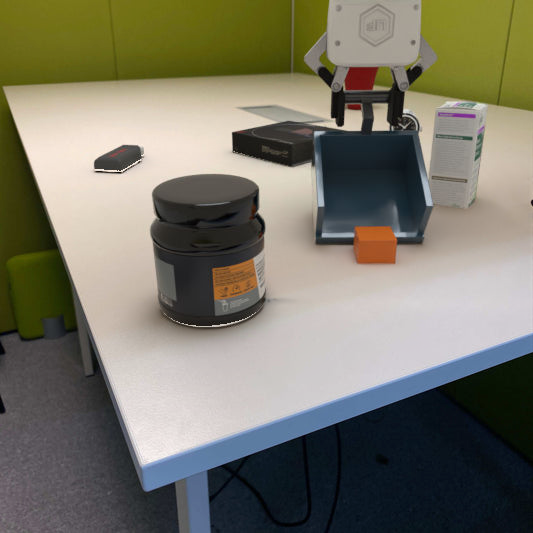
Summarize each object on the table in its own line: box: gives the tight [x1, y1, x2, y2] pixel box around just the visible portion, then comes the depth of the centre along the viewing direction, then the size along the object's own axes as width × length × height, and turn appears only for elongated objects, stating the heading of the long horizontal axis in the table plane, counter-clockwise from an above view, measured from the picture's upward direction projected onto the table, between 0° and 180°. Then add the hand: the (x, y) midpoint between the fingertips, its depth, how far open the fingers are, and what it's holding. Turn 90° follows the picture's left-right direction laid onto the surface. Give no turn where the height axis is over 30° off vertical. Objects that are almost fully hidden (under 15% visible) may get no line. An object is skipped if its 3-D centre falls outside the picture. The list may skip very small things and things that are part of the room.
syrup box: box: [428, 100, 489, 210], centre depth 75 cm, size 6×6×14 cm
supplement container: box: [149, 173, 267, 326], centre depth 51 cm, size 10×10×12 cm
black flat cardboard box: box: [231, 120, 347, 167], centre depth 110 cm, size 16×17×4 cm
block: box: [352, 226, 398, 265], centre depth 61 cm, size 4×4×4 cm
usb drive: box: [93, 144, 145, 171], centre depth 102 cm, size 5×12×3 cm, turn 167°
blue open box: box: [310, 89, 434, 245], centre depth 66 cm, size 17×13×10 cm
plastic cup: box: [344, 66, 381, 111], centre depth 153 cm, size 11×11×12 cm
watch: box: [388, 108, 423, 134], centre depth 91 cm, size 6×8×11 cm
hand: (365, 122), depth 66 cm, fingers closed on blue open box, 5 cm apart
